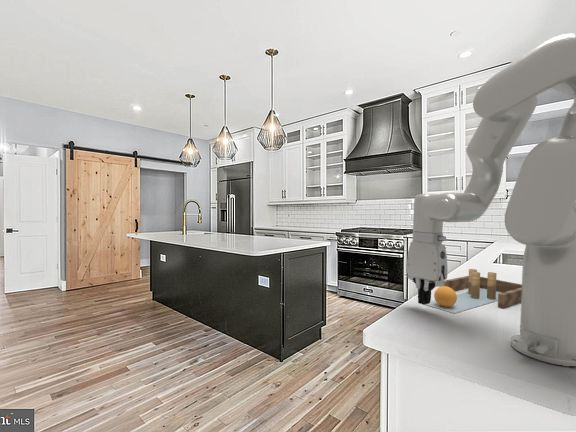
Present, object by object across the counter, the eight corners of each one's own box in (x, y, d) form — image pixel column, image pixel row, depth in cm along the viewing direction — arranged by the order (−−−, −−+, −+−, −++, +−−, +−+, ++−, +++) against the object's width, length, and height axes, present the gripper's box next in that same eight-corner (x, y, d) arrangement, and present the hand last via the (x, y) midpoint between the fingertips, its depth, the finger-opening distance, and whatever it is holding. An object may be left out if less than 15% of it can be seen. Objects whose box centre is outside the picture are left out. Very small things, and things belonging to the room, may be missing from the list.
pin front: (477, 299, 100) (477, 273, 100) (469, 298, 102) (470, 272, 102) (480, 298, 101) (481, 272, 101) (473, 297, 103) (474, 271, 103)
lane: (454, 313, 86) (454, 313, 86) (422, 304, 95) (422, 303, 95) (514, 295, 106) (514, 295, 106) (482, 288, 114) (482, 288, 114)
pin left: (473, 295, 105) (474, 270, 105) (466, 294, 107) (467, 269, 107) (477, 294, 106) (478, 269, 106) (470, 293, 108) (471, 268, 108)
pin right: (493, 300, 100) (494, 274, 100) (485, 298, 102) (486, 272, 102) (497, 299, 101) (497, 273, 101) (489, 297, 103) (489, 271, 103)
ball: (449, 311, 89) (449, 290, 88) (429, 305, 94) (430, 285, 93) (460, 307, 92) (461, 287, 92) (441, 302, 97) (441, 283, 97)
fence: (503, 308, 92) (503, 295, 92) (440, 292, 108) (440, 281, 108) (532, 298, 103) (533, 286, 102) (471, 285, 119) (471, 275, 119)
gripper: (461, 241, 83) (457, 309, 84) (412, 235, 95) (409, 294, 96) (445, 242, 79) (441, 314, 80) (396, 236, 91) (393, 298, 92)
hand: (424, 303), depth 88 cm, fingers closed
